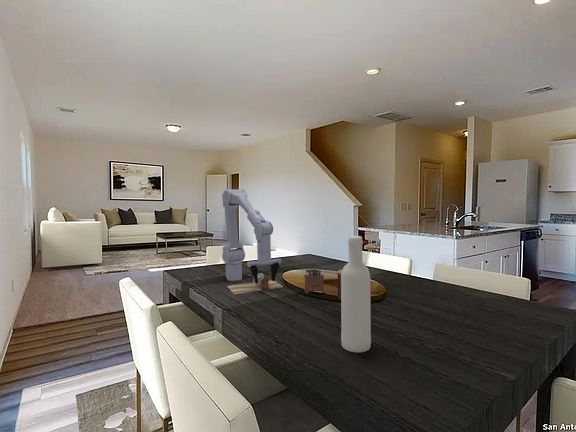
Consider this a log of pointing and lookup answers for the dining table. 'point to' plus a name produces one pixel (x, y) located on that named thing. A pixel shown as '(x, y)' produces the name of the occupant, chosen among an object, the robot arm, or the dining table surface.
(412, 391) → the dining table surface
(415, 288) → the dining table surface
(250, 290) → the subfloor panel
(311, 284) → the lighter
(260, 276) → the block
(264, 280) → the awl
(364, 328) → the bottle
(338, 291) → the canned food
